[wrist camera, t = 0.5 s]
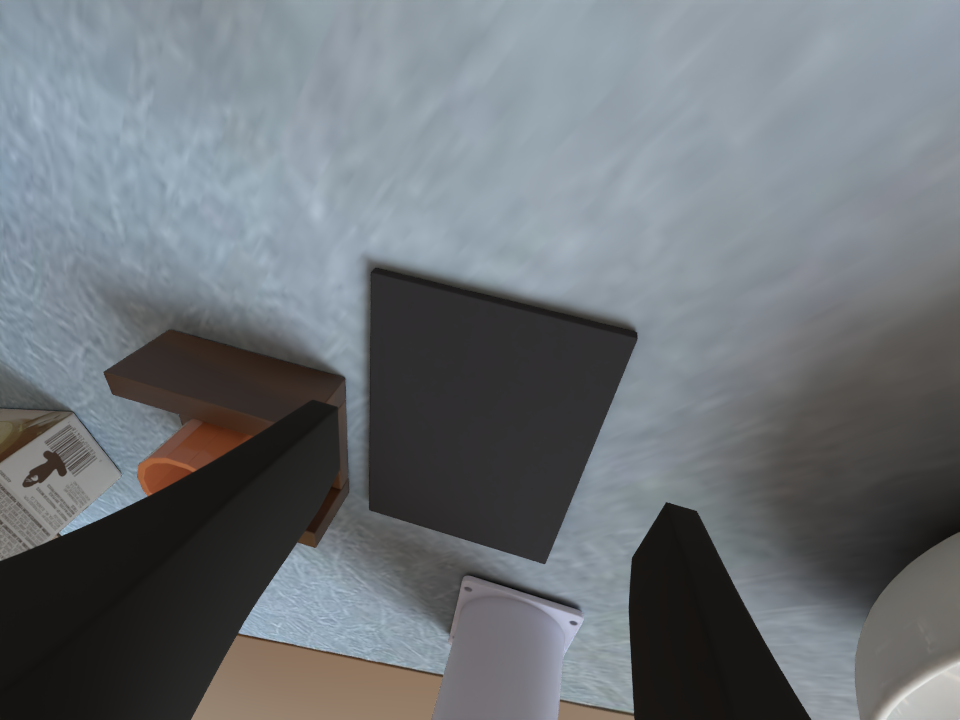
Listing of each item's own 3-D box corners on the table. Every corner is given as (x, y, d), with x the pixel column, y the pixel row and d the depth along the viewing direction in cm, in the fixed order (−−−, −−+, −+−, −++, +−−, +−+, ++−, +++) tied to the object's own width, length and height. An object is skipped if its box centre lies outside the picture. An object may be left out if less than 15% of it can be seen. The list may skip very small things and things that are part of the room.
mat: (546, 557, 28) (545, 564, 27) (372, 503, 29) (368, 510, 29) (637, 331, 18) (638, 338, 18) (375, 267, 20) (370, 271, 19)
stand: (349, 492, 29) (315, 548, 26) (204, 447, 30) (154, 496, 27) (345, 377, 24) (302, 430, 20) (169, 328, 25) (102, 372, 22)
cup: (312, 461, 28) (248, 548, 23) (232, 437, 29) (154, 517, 24) (305, 393, 25) (230, 478, 20) (216, 368, 26) (122, 444, 21)
